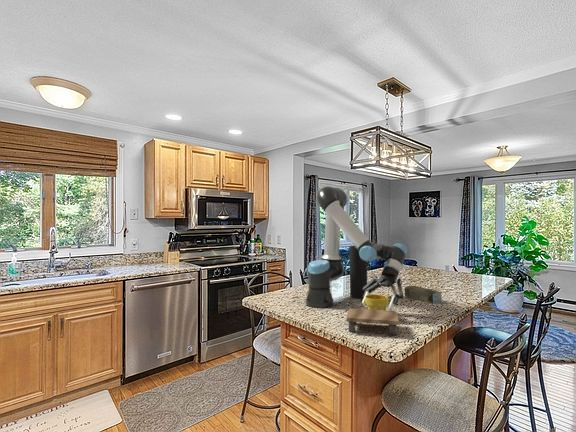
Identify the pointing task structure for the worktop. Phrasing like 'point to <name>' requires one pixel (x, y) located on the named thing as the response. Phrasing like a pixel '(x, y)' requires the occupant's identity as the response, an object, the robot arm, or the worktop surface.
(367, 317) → the shelf stand
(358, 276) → the vase
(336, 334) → the worktop surface
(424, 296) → the beverage carton
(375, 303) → the plant pot
